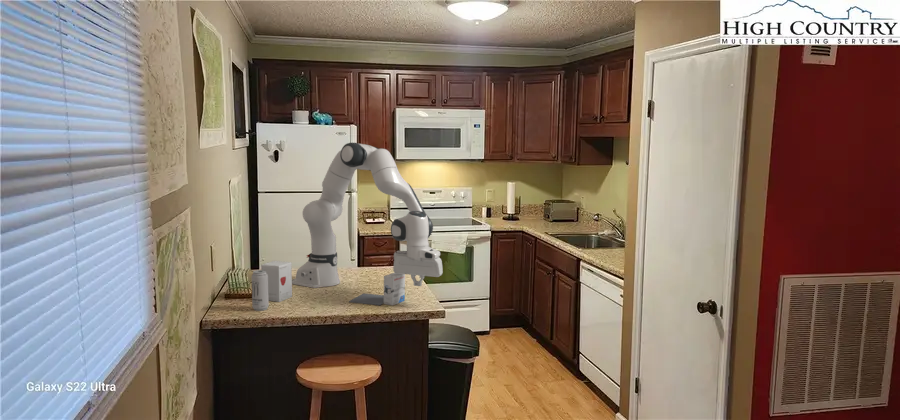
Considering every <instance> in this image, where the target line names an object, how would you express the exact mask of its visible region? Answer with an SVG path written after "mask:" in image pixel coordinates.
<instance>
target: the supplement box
mask: <svg viewBox="0 0 900 420" xmlns="http://www.w3.org/2000/svg"><path fill="white" fill-rule="evenodd" d="M260 267H261V269H260V270H265V271H266V273H267V275H268V298H269V302H277V303H280V302H283V301H285V300H288V299H290V298H292V297H293V284H292V280H293V276H292V275H293V274H292V272H293V270H292V262H291V261H281V260H272V261H270V262H266V263H262V264H260Z"/></svg>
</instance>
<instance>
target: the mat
mask: <svg viewBox="0 0 900 420" xmlns="http://www.w3.org/2000/svg"><path fill="white" fill-rule="evenodd" d="M348 303H353V304H354V303H355V304H363V305H372V306H378V307H379V306H380V307H381V306H382V305H384V294H374V293H364V292H363V293H362V294H359V295H358V296H356V297H354V298H352V299H351V300H349V301H348Z"/></svg>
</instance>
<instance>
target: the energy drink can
mask: <svg viewBox="0 0 900 420" xmlns="http://www.w3.org/2000/svg"><path fill="white" fill-rule="evenodd" d="M251 302H252V306H251V307H252V308H253V310H254V311H255V312H263V311H267V310H268V307H269V306H270V304H269V303H270V301H269V298H268V275H267V273H266V271H265V270H261V269H258V270H253V272H252V274H251Z"/></svg>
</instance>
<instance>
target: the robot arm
mask: <svg viewBox="0 0 900 420" xmlns="http://www.w3.org/2000/svg"><path fill="white" fill-rule="evenodd" d="M331 161H332V162H330V165H329V167H328V170H327V171H326V174H325V175H324V178H323V181H322V183H321V187H322V191H321V195H320V197H319V199H317V200H311V201H310V202H309V203H307V204H306V205H305V206H304V207H303V208H302V209H303V210H302V218H303V220H304V221H305V222H306V224H307V227H308V230H309V233H310V241H311V253H309V254H307V255H306V258H308V261H306V262H305V263H304V264H302V265H301V266H300V267H299V268H297V270H296V273H295V278H292V285H295V286H296V285H297V286H302V287H306V288H307V287H308V288H313V289H315V288H322V287H333V286H336V285H339V284H341V280H340V277H339V272H338V252H337V237H336V234H335V233H334V231H333V227H332V222H333V221H336V220H337V219H338V218H339V217H340V216H341V215H342V213H343V210H344V209H343V203H344V198H345V194H346V192H347V191H348V187H349V186H350V183H351V180H352V178H353V176H354V174H355V172H356V171H357V170H360V171H361V170H363V171H370V172H371V176H372V179H373V181H374V184H375V186H376V188H377V189H378V191H380V192H381V193H383V194H385V195H388V196H392V197H395V198H398V199H399V200H401V201H402V202H403V203H404V204H405V205H406V207H407V209H408V211H409V212H408V213H407V214H406V215H404V216H401V217H398V218H395V219H394V220H393V221H392V223H391V225H390V233H391V236H392V238H393V239H394V240H395V241H397V242H406V250H397V251H395V252H394V253H393V269H392V270H393V273H398V274H405V275H410V278H411V280H412V282H413V286H414V287H421V286H422V285H423V284H422V283H423V280H424V279H425V277H435V278H439V277H440V276H442V275H443V272H444V271H443V261H442V258H440V256H441V251H439V250H437V249H435V248H433V247H431V246H430V243H429V238H430V236H431V235H432V233H433V230H434V225H433V222H432V220H431V218H430V216H428V214H427V213H426V211H425V210H424V207H423V205H422V204H421V202H420V200H419V198H418V196H417V194H416V192H415V190H414V189H413V187H412V186H411V184H410V183H408V182H407V181H406V180H405V179H404V178H403V176H402V174H401V173H400V171H399V168H398V167H397V163H396V161H395V159H394V157H393V156H392V154H391V152H390V151H389V150H388V149H386V148H379V147H377V146H372V145H369V144H364V143H357V142H347V143H345V144H344V145H343V146H342V148H341V150H339V151H338V152H337V153H336V154H335V156H334V158H333V159H332V160H331ZM417 276H419V280H417V279H416V277H417Z"/></svg>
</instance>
